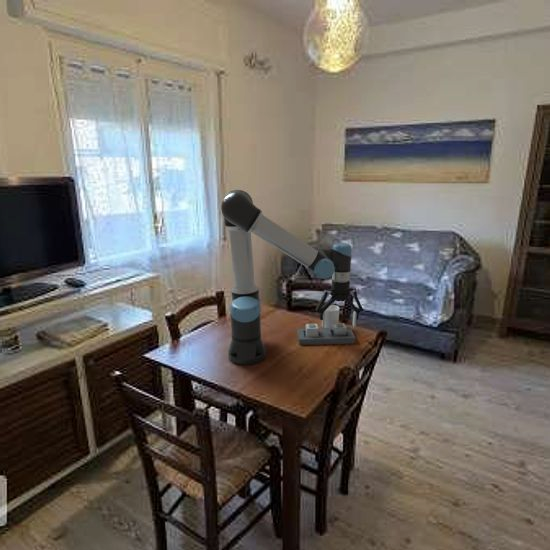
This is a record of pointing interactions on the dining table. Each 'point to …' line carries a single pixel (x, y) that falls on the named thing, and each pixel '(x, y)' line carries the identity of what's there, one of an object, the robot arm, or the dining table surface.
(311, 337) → the grey socket block
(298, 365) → the dining table surface
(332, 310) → the white cup
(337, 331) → the block
